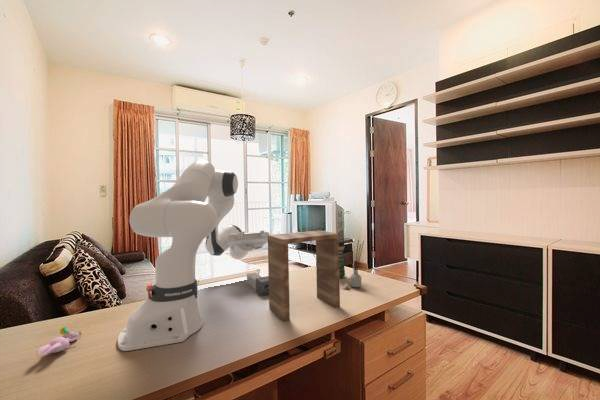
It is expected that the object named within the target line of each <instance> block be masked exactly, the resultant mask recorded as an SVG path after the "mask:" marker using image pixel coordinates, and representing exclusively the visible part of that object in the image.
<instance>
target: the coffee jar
mask: <svg viewBox="0 0 600 400" xmlns="http://www.w3.org/2000/svg"><path fill="white" fill-rule="evenodd" d="M344 240H345V239H342V238H340V237H339V279H342V278H344V277H345V276H346V270H345V261H344V251H345V247H346V246H345V241H344Z"/></svg>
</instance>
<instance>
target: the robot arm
mask: <svg viewBox="0 0 600 400" xmlns="http://www.w3.org/2000/svg"><path fill="white" fill-rule="evenodd" d="M238 187H239V180H238V177H237V175H236V174H235V172H233V171H230V170H222V169H221V170H220V169H215V166H214V165H213V164H212V163H211V162H210V161H208V160H204V159H198V160H196V161H193V162H192V163H190V165H188V167H187V168H186V169H184V171H183V172H182V173H181V175H180V176H179V177H178V179H177V180H176V182H175V183H174V184H173V185H172V186H171V187H170V188H168V189H167V190H165V191H164V192H162V193H160V194H158V195H157V196H155V197H153V198H152V199H150V200H147V201H144V202H142V203H139V204H137V205H135V206H134V207H133V208H132V210H131V212H130V214H129V225H130V228H131V229H132V231H133V233H134V234H137V235H139V236H144V237H149V238H172V240H171V241H172V242H171V246H170V248H168V249H167V248H166V249H165V250H164V251H162V252H161V253H159V254H158V256H157V258H155V261H154V265H155V284H154V285H153V283H150V284H147V286H146V287H145V289H146V292H147V297H148V299H146V301H144V302H143V303H142V304H141V305H139V307H137V308H136V309H135V310H133V311H132V312H131V314H130V316H129V318H128V321H127V323H126V327H125V328H124V329H123V330H122V331H121V332H120V333H119V335H118V337H117V347H118V349H119V350H121V351H123V352H128V351H134V350H140V349H141V350H142V349H147V348H153V347H154V348H155V347H159V346H165V345H170V344H177V343H181V342H185V341H186V340H187V339H188V338H189V337H190V336H191V335H193V334H195V333H196V332H199V330H200V329H201V328H202V326H203V321H202V318H201V315H200V311H199V307H198V300H197V299H198V296H199V295H198V293H199V291H198V290H199V289H198V281H197V278H196V260H197V253H198V250H199V248H200V246H201V244H202V243H203V241H204V240H205V248H206V250H207V252H208V253H209V254H210V255H211V256H221V255H222V254H224V253H225V251H227V250H228V249H229V255H230V256H231V258H233V259H235V260H241V259H243V258H245V257H246V256H247V255H248V254H249V253H250V252H252V251H255V250H258V249H263V247H264V246H265V245H266V244H268V235H271V234H270V232H268V231H266V232H265V230H260V231H259V232H250V233H249V232H247V233H245V231H242V229H241V228H240V227H239V226H237V225H235V224H228V225H227V226H225V227H223V228H222V229H221V230H219V225H220V223H221V221H222V220H223V219H224V218H225V217H226V216H227V215H228V214H229V213H230V212H231V211H232V209H233V207H234V205H235V194H236V193H237V190H238ZM207 198H208V202H206V199H207ZM205 238H206V239H205Z"/></svg>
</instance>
